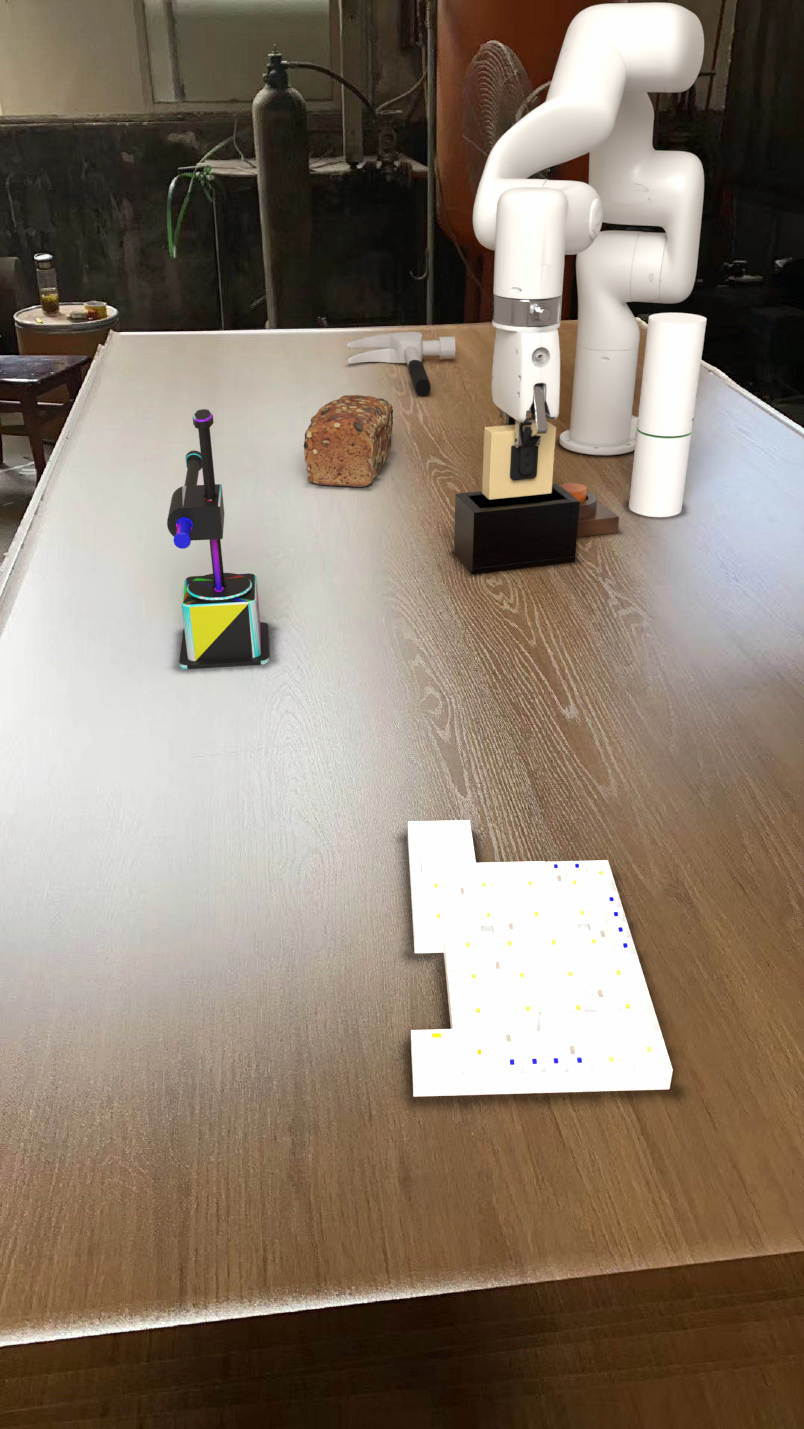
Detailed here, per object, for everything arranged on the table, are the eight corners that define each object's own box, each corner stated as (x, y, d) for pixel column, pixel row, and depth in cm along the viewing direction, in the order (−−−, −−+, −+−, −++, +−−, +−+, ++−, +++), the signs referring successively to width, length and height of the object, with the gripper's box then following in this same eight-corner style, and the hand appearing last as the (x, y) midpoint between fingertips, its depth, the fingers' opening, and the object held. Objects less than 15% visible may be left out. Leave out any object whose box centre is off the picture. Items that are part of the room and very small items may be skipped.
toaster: (553, 542, 139) (557, 483, 135) (575, 562, 134) (580, 501, 130) (453, 553, 136) (455, 493, 132) (472, 574, 130) (474, 512, 126)
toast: (543, 487, 132) (548, 421, 128) (551, 493, 130) (556, 427, 126) (481, 493, 131) (484, 427, 126) (489, 500, 128) (491, 432, 124)
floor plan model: (413, 1096, 64) (413, 1074, 63) (400, 838, 86) (400, 819, 85) (669, 1089, 65) (673, 1067, 64) (592, 834, 86) (594, 815, 85)
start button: (578, 494, 144) (580, 481, 143) (590, 503, 141) (591, 490, 140) (553, 497, 143) (554, 484, 142) (564, 506, 140) (565, 493, 139)
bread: (373, 490, 157) (372, 421, 152) (301, 486, 158) (298, 417, 153) (396, 451, 172) (395, 387, 167) (330, 448, 174) (328, 385, 169)
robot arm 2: (269, 678, 108) (251, 435, 96) (177, 683, 108) (146, 439, 95) (267, 578, 130) (251, 369, 117) (190, 582, 129) (166, 372, 116)
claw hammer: (473, 371, 200) (452, 330, 225) (353, 374, 198) (346, 333, 223) (473, 400, 203) (452, 357, 228) (354, 404, 201) (346, 360, 226)
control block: (591, 512, 149) (594, 483, 146) (617, 532, 142) (620, 503, 140) (523, 519, 146) (525, 491, 144) (546, 541, 140) (548, 511, 138)
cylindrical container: (684, 502, 152) (709, 314, 139) (678, 519, 146) (703, 325, 133) (632, 496, 154) (652, 311, 141) (624, 513, 148) (644, 321, 135)
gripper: (588, 323, 114) (574, 493, 123) (530, 297, 128) (522, 452, 137) (521, 327, 112) (513, 499, 122) (470, 301, 126) (466, 457, 135)
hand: (518, 473), depth 129 cm, fingers closed on toast, 2 cm apart
